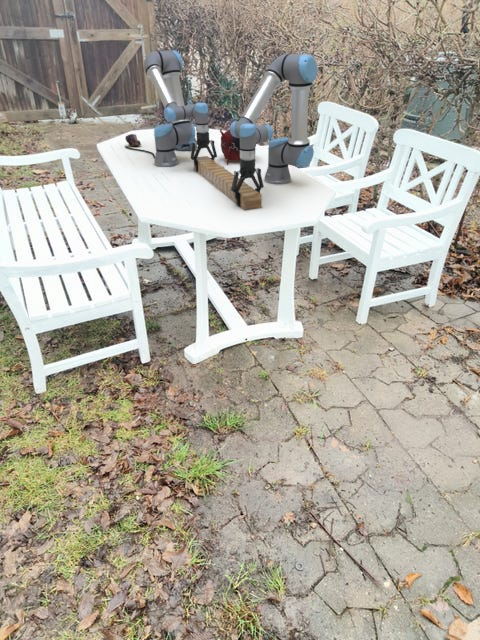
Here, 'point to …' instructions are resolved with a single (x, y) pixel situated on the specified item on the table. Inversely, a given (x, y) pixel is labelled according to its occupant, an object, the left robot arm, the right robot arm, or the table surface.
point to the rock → (132, 140)
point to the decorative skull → (230, 146)
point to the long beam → (228, 183)
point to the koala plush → (185, 146)
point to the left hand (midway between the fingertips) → (204, 169)
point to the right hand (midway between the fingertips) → (247, 203)
